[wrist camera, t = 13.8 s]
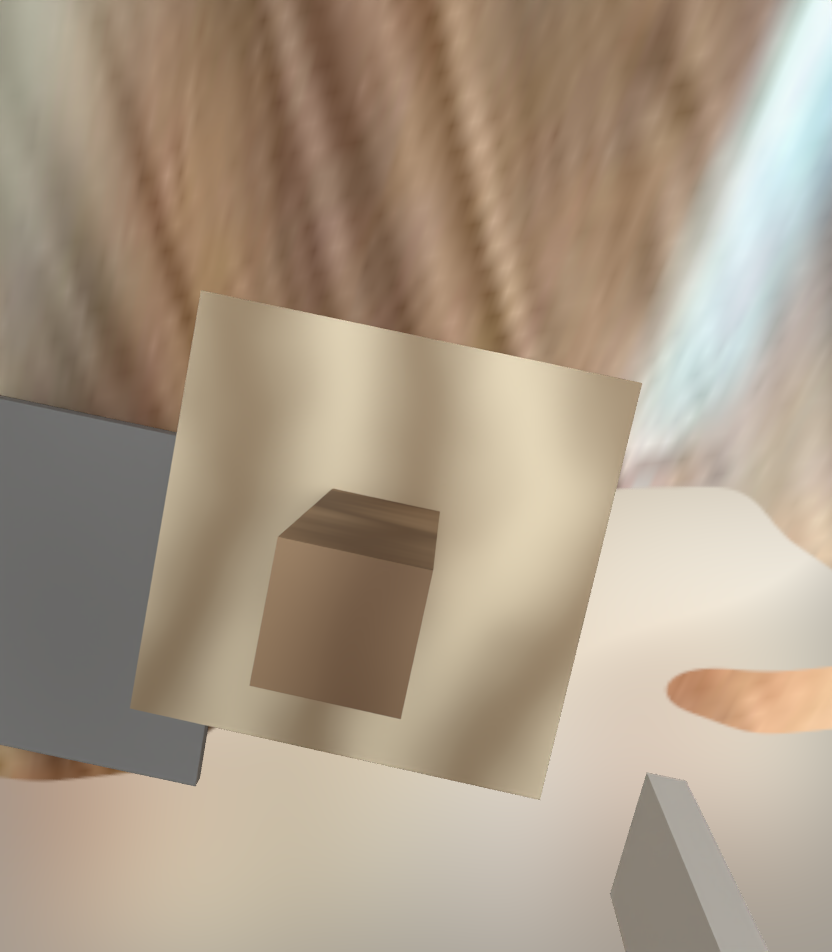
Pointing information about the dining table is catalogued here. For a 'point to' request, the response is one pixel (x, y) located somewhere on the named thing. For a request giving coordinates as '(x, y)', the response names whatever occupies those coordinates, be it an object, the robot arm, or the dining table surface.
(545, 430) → the lid
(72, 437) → the mat
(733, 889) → the robot arm
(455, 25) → the dining table surface
